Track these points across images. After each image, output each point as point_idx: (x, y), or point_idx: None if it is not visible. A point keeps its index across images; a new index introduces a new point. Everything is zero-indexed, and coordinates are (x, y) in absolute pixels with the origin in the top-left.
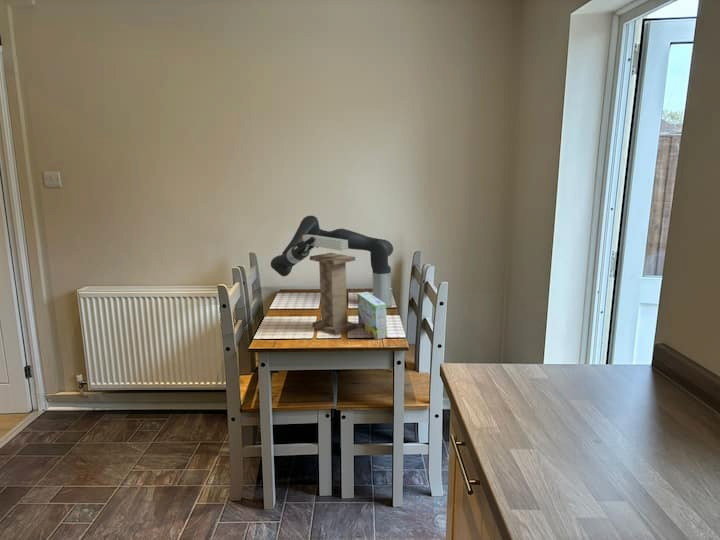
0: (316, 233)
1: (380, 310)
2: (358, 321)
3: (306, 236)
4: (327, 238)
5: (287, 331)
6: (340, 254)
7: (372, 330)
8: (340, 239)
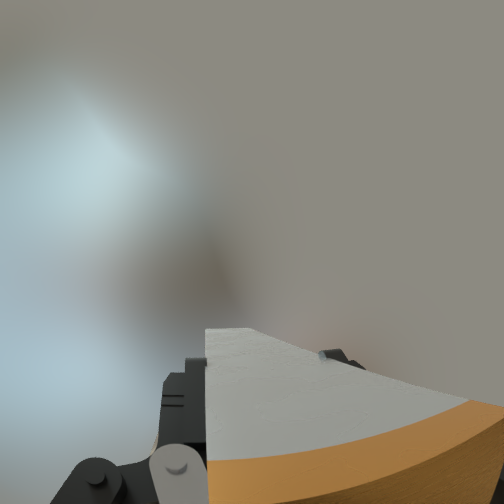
0: None
1: None
2: None
3: (398, 388)
4: (251, 337)
5: None
6: (153, 450)
7: None
8: (219, 331)
